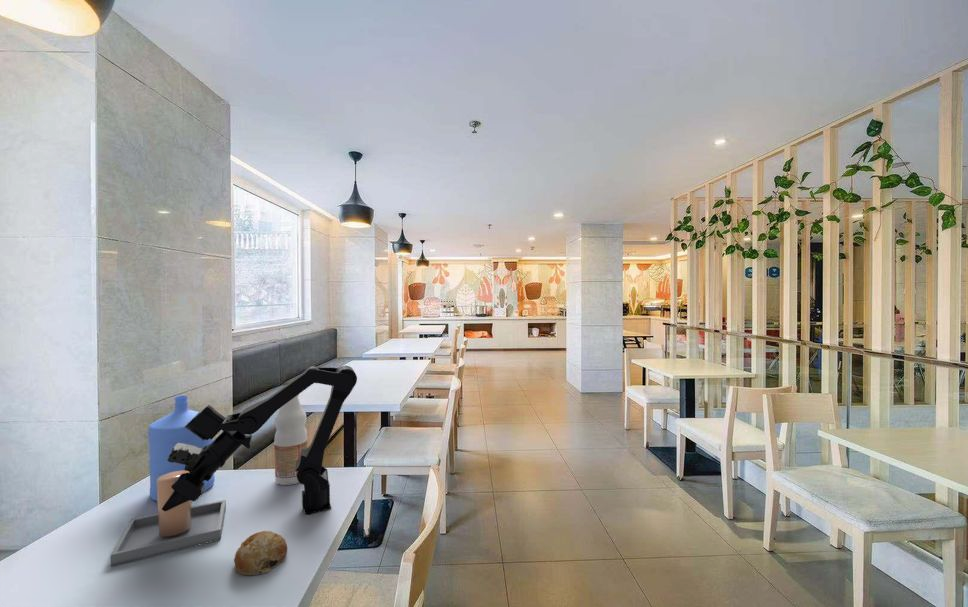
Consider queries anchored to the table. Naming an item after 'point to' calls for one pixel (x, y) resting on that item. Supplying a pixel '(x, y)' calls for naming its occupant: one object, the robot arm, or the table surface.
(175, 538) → the grey tray
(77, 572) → the table surface
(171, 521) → the peach rounded cylinder
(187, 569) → the table surface
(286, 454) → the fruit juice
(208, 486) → the water jug
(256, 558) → the bread roll
